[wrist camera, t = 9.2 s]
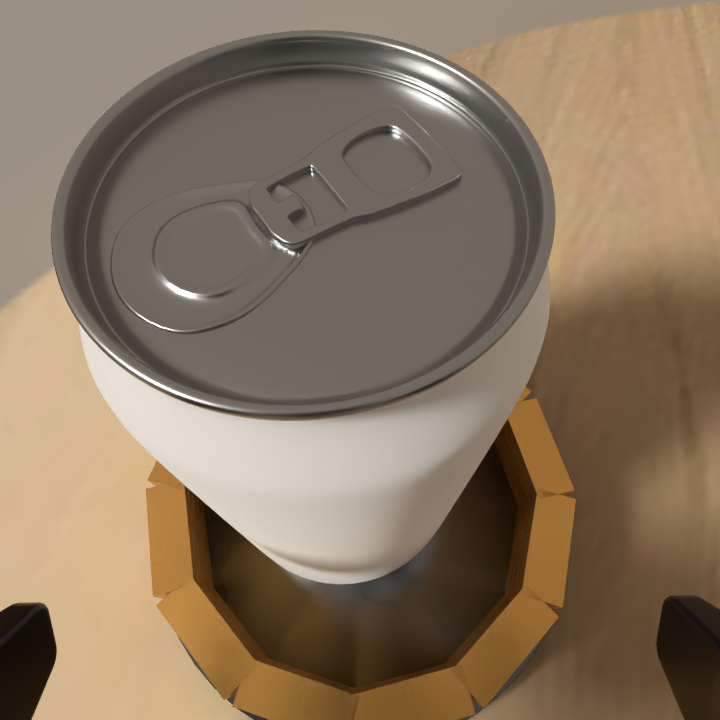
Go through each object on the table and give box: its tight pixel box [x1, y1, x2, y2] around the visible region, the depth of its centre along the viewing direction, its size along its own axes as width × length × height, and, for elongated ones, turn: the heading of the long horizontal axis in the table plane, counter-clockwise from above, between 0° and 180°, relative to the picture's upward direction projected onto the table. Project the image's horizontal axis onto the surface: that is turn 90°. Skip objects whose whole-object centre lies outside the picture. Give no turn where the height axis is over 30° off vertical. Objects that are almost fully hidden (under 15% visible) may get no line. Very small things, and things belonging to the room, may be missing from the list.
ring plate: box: [146, 387, 576, 720], centre depth 16 cm, size 12×12×3 cm
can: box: [51, 30, 555, 584], centre depth 12 cm, size 6×6×12 cm
